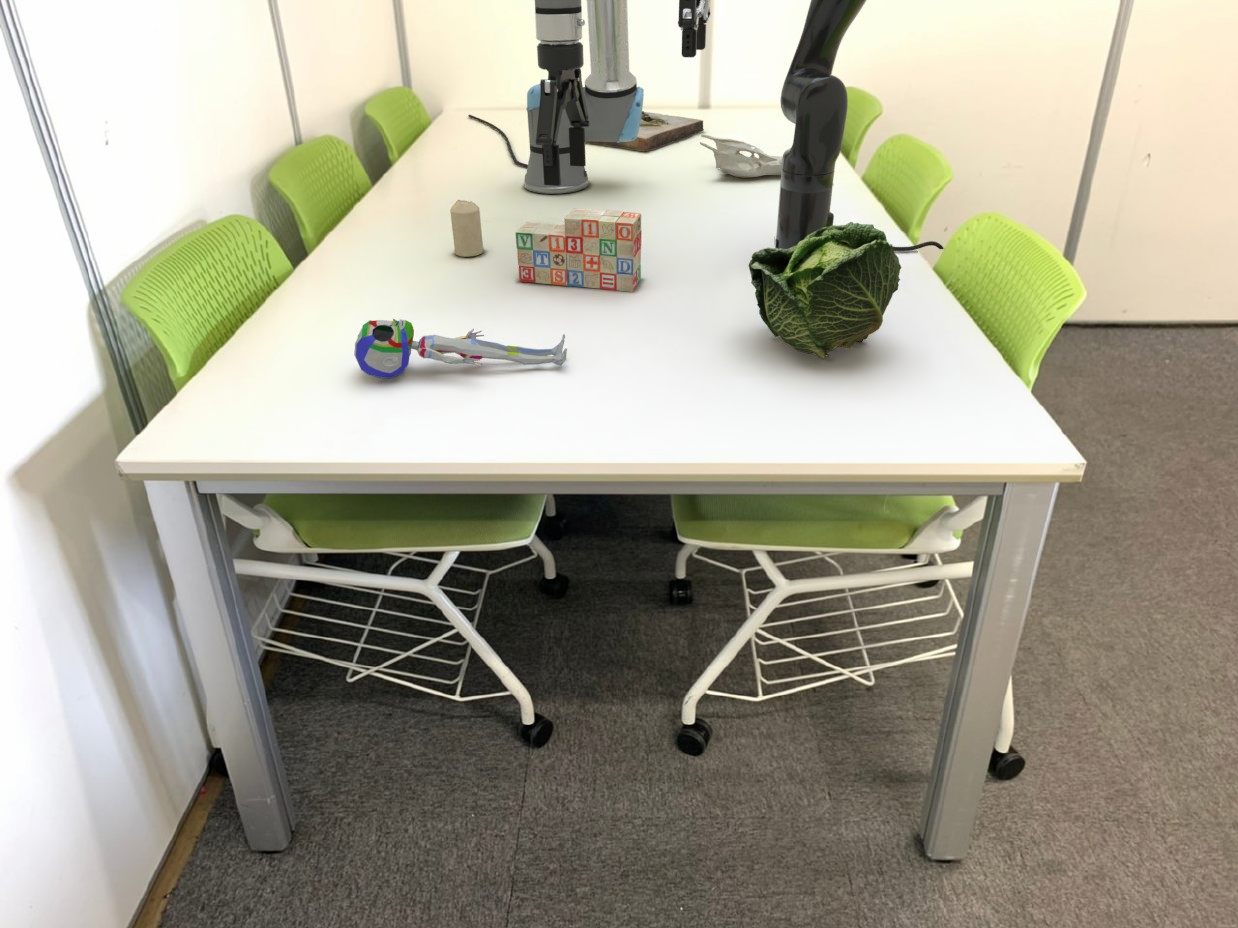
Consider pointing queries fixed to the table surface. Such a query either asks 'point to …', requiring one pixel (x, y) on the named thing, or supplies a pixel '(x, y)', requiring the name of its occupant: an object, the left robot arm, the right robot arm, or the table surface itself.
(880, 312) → the vegetable
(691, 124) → the plaque
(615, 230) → the stack of blocks
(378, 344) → the toy
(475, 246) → the candle
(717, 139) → the anatomical model
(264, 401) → the table surface
